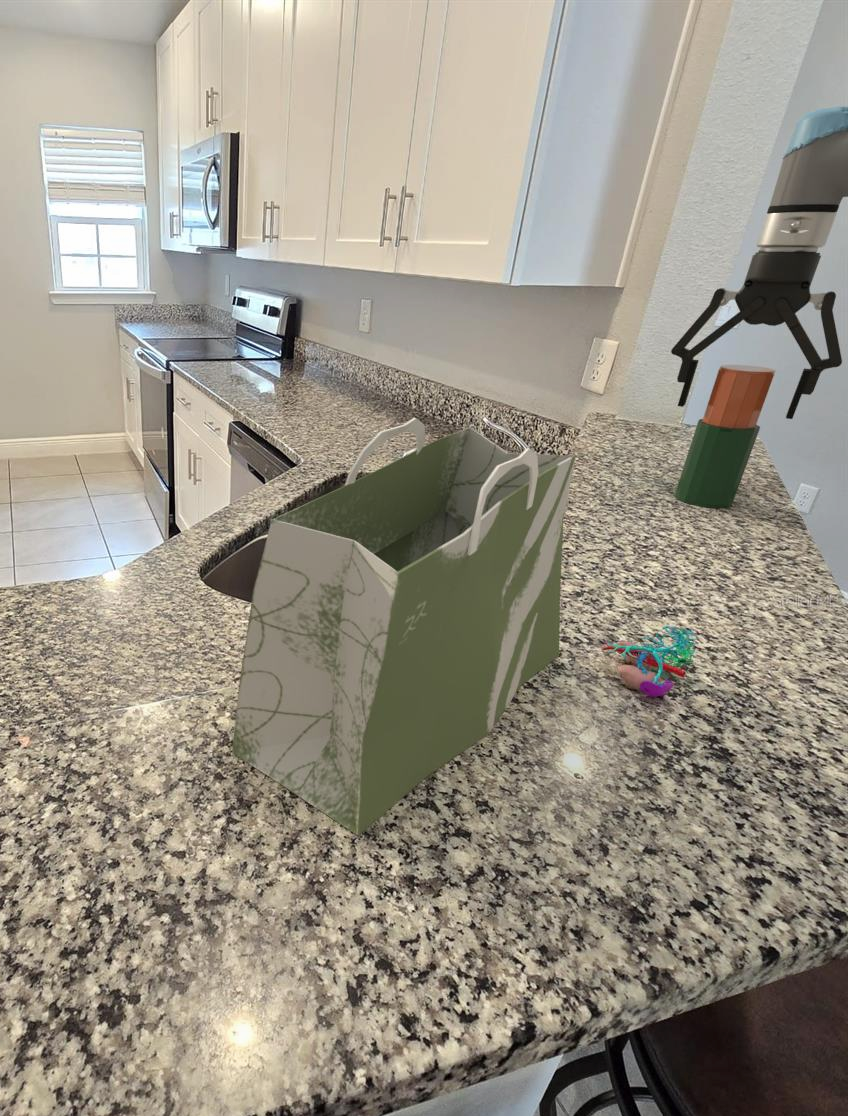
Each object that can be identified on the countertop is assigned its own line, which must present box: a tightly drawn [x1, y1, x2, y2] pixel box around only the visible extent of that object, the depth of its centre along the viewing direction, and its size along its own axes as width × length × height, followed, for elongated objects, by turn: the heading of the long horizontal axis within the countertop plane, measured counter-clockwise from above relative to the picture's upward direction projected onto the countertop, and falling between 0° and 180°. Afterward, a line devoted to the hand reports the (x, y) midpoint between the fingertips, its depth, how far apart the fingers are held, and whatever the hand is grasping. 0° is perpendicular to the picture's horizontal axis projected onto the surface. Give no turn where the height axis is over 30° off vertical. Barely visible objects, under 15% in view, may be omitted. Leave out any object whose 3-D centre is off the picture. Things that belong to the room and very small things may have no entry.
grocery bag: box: [231, 417, 577, 837], centre depth 52 cm, size 32×14×23 cm, turn 136°
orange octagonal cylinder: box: [702, 364, 776, 429], centre depth 98 cm, size 7×7×8 cm
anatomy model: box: [601, 625, 699, 698], centre depth 60 cm, size 5×8×7 cm
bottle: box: [674, 418, 761, 509], centre depth 102 cm, size 8×8×17 cm
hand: (733, 411), depth 99 cm, fingers open, 13 cm apart
